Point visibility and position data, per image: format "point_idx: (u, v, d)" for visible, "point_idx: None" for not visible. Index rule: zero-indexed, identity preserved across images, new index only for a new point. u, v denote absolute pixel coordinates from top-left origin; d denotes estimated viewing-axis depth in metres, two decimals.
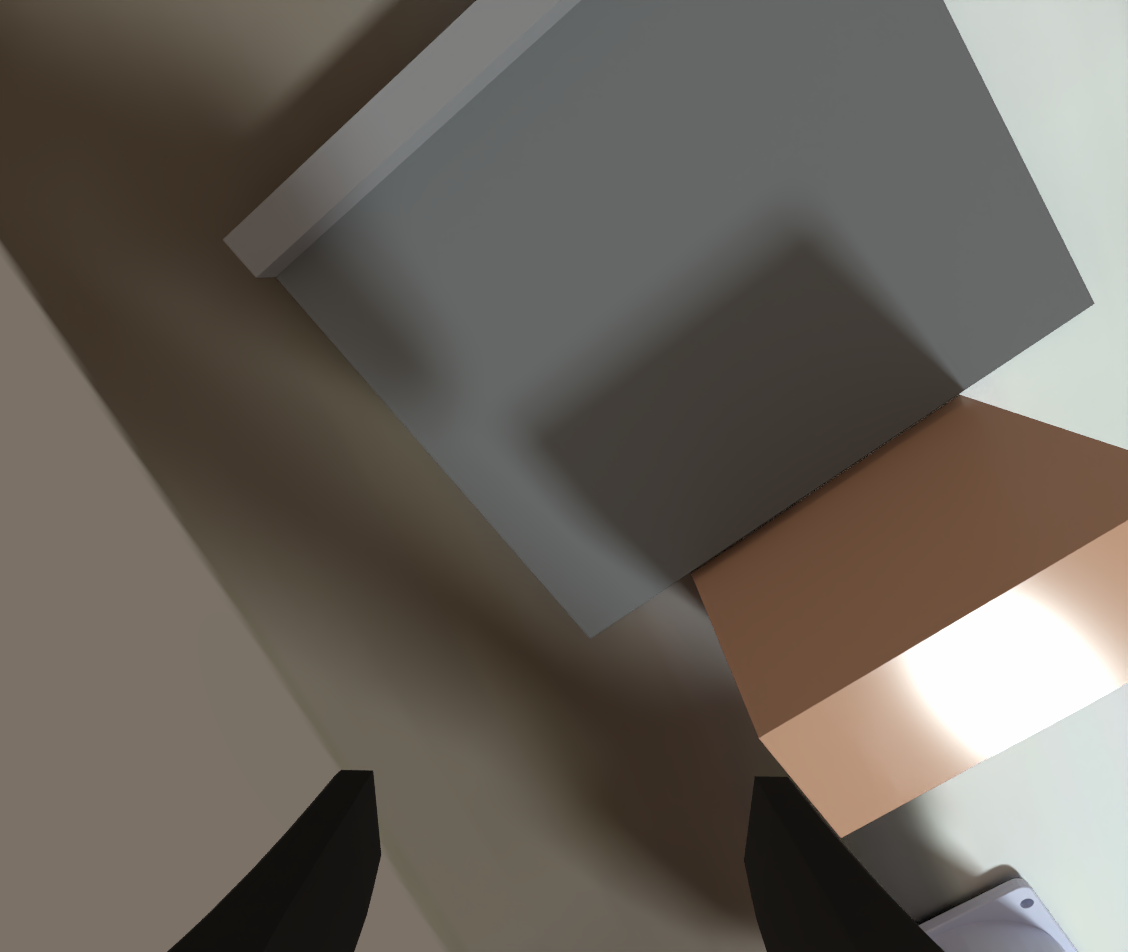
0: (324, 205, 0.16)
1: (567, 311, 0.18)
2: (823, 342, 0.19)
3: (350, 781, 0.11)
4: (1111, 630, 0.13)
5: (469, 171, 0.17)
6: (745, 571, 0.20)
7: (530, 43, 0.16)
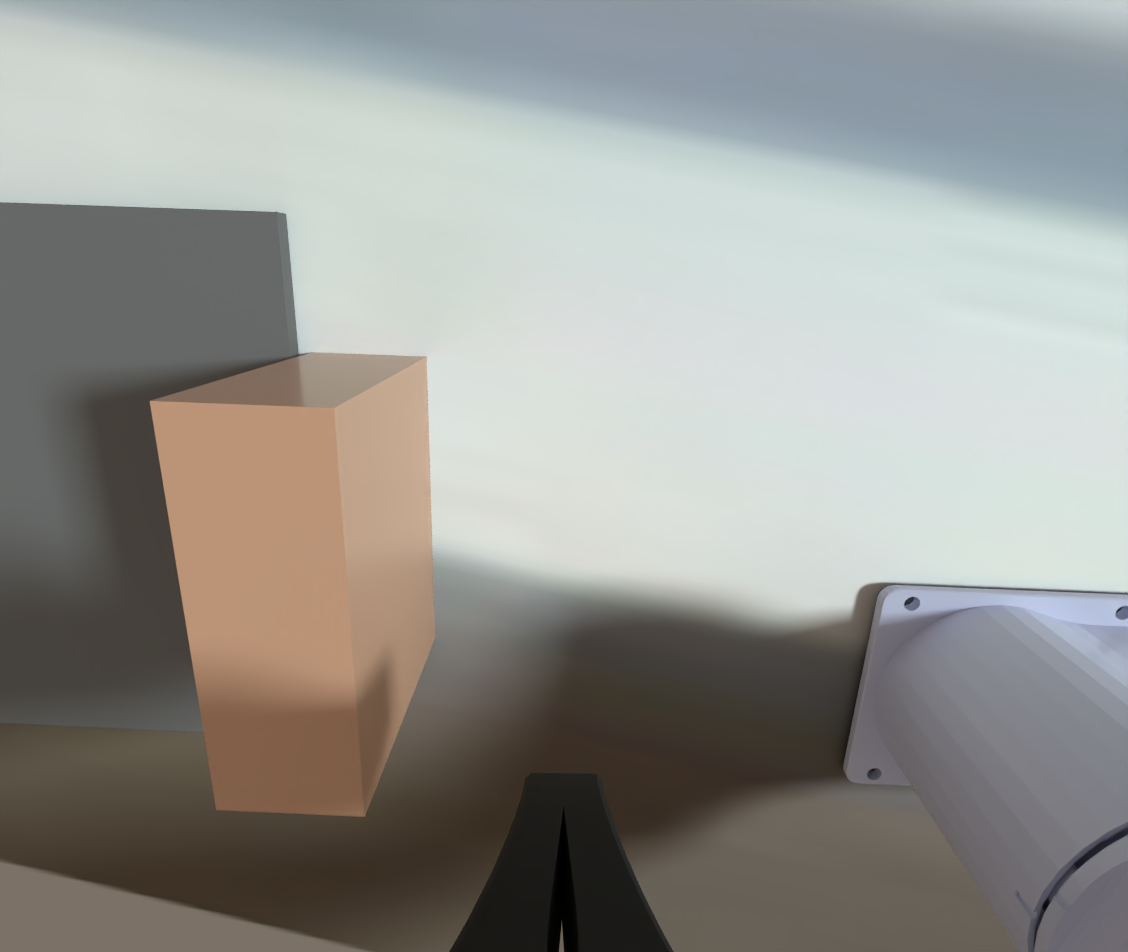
0: None
1: (50, 581, 0.22)
2: None
3: (548, 784, 0.11)
4: (274, 536, 0.13)
5: None
6: None
7: None
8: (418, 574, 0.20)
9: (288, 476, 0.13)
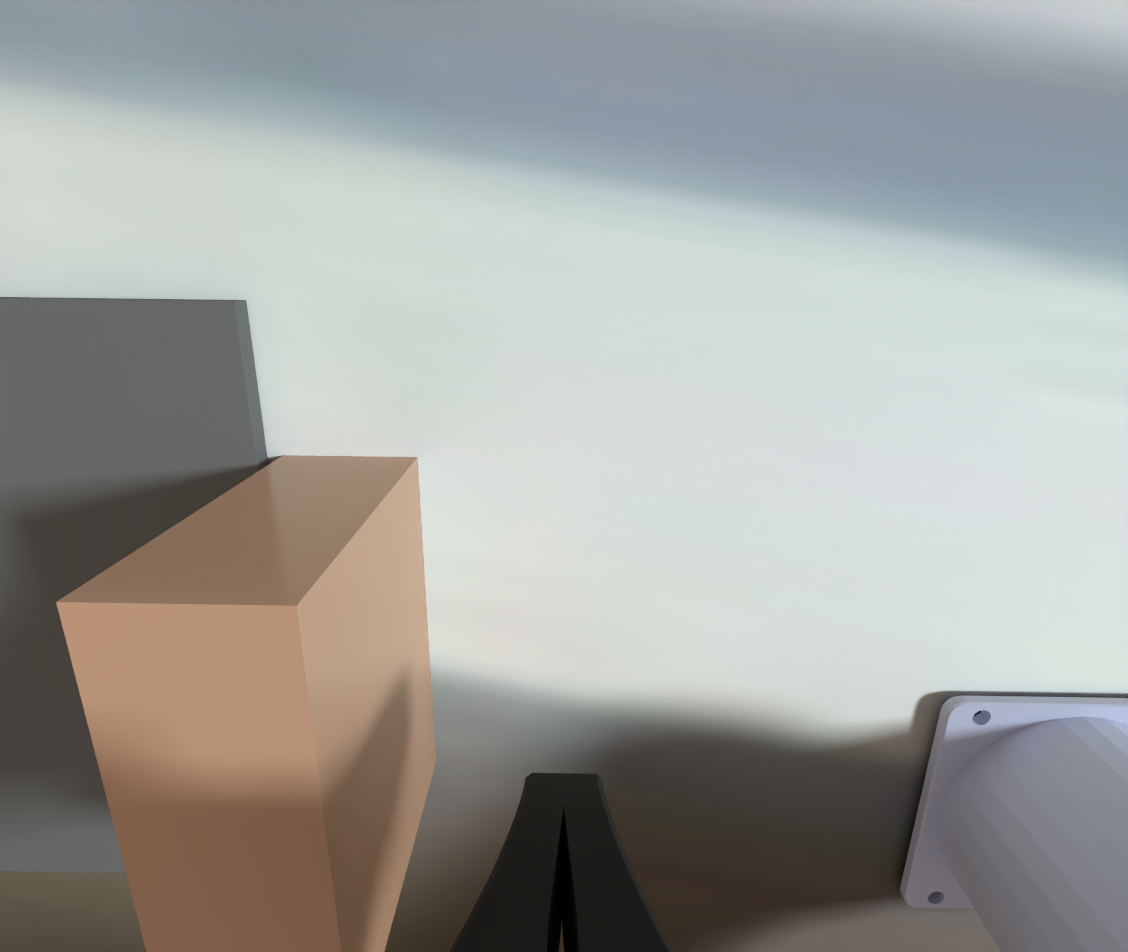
0: None
1: None
2: None
3: (548, 784, 0.11)
4: (227, 754, 0.10)
5: None
6: None
7: None
8: (414, 710, 0.17)
9: (242, 686, 0.10)
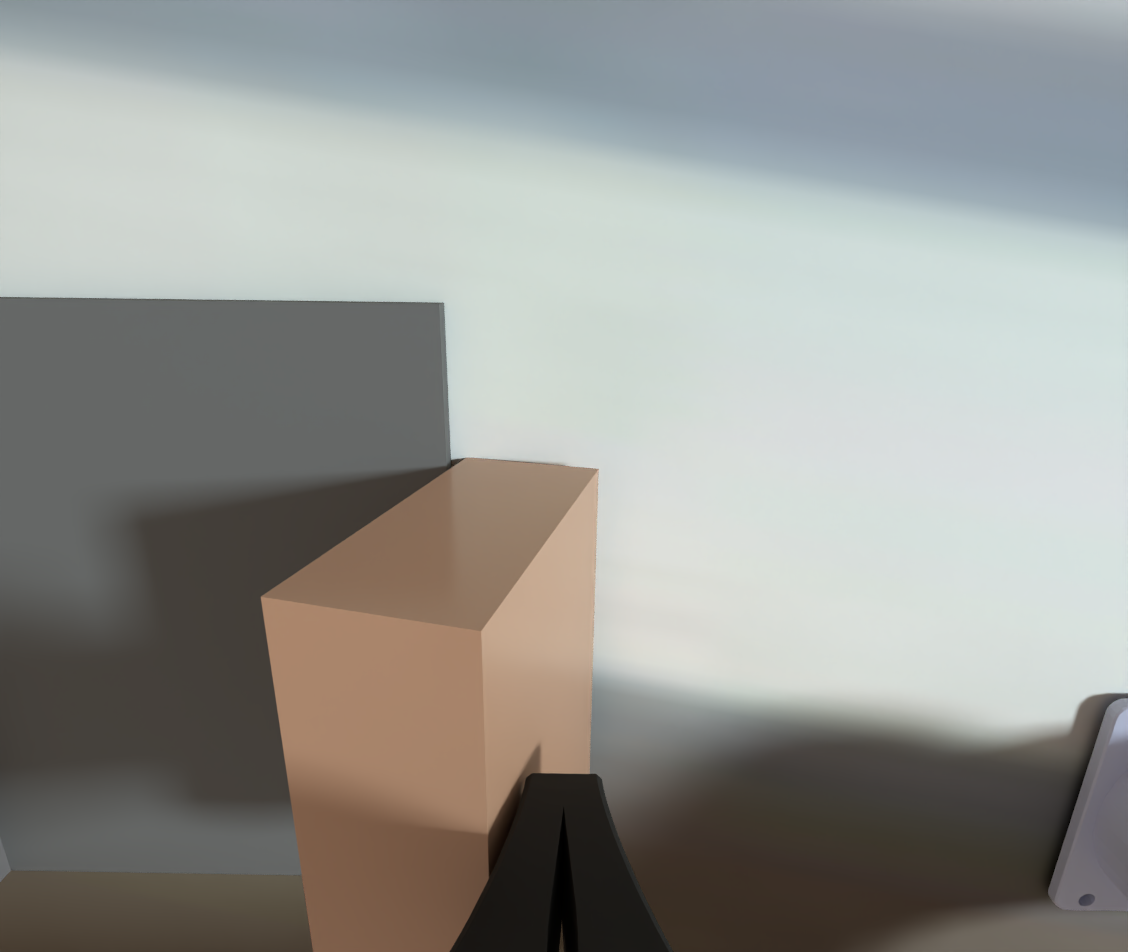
0: None
1: (155, 719, 0.19)
2: (311, 557, 0.17)
3: (547, 784, 0.11)
4: (401, 770, 0.10)
5: (1, 713, 0.19)
6: None
7: None
8: (574, 734, 0.16)
9: (420, 705, 0.10)
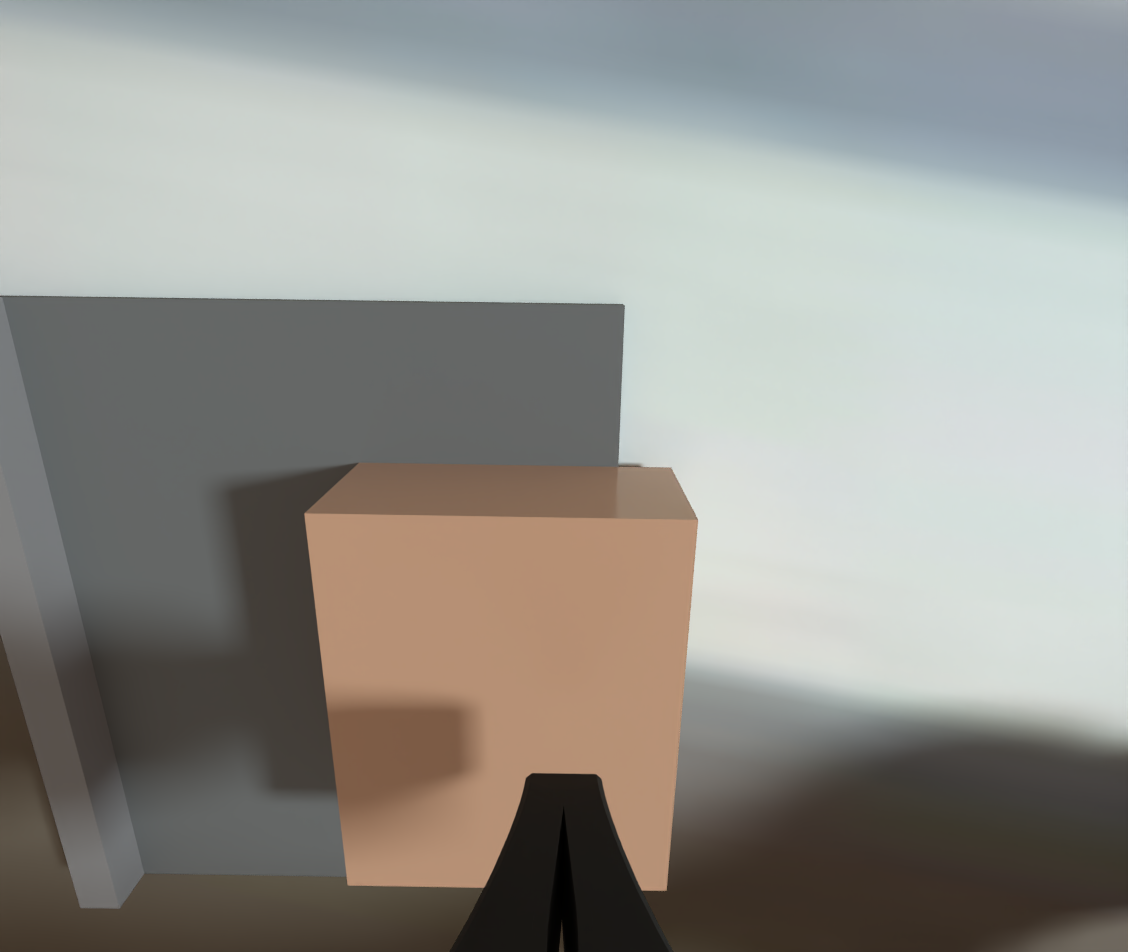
0: (95, 840, 0.19)
1: (302, 722, 0.19)
2: None
3: (548, 784, 0.11)
4: None
5: (148, 716, 0.19)
6: None
7: (77, 625, 0.18)
8: None
9: None
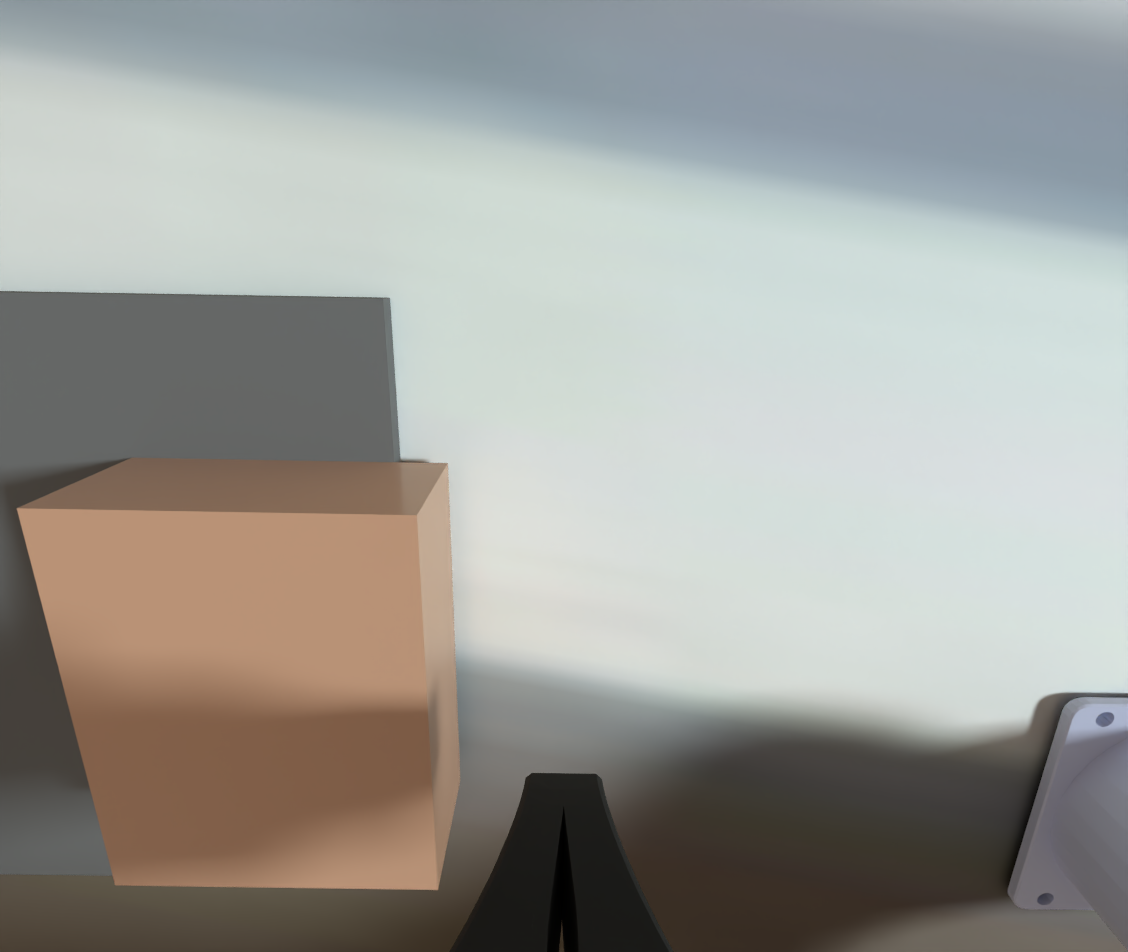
0: None
1: None
2: None
3: (548, 783, 0.11)
4: None
5: None
6: None
7: None
8: (343, 775, 0.15)
9: None
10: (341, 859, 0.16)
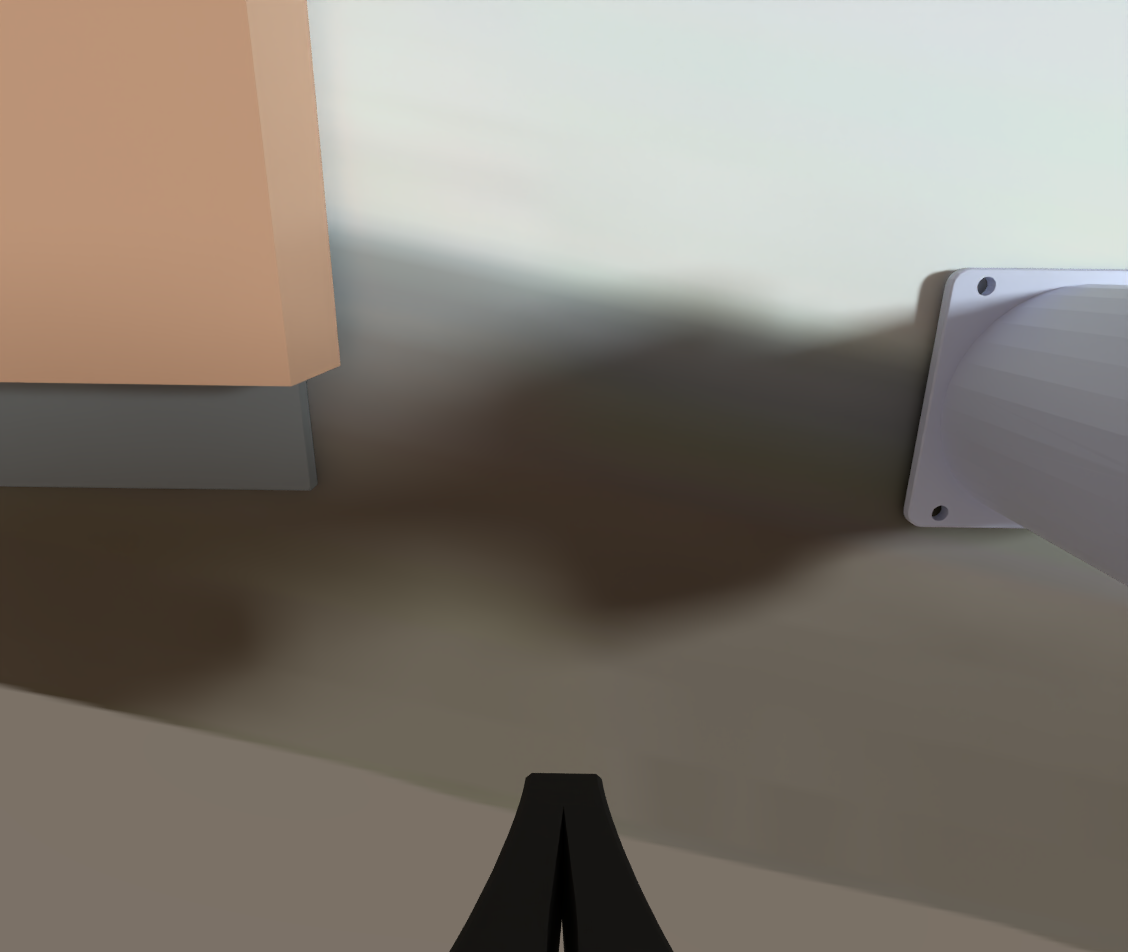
0: None
1: None
2: None
3: (548, 784, 0.11)
4: None
5: None
6: None
7: None
8: (185, 234, 0.15)
9: None
10: (191, 346, 0.16)
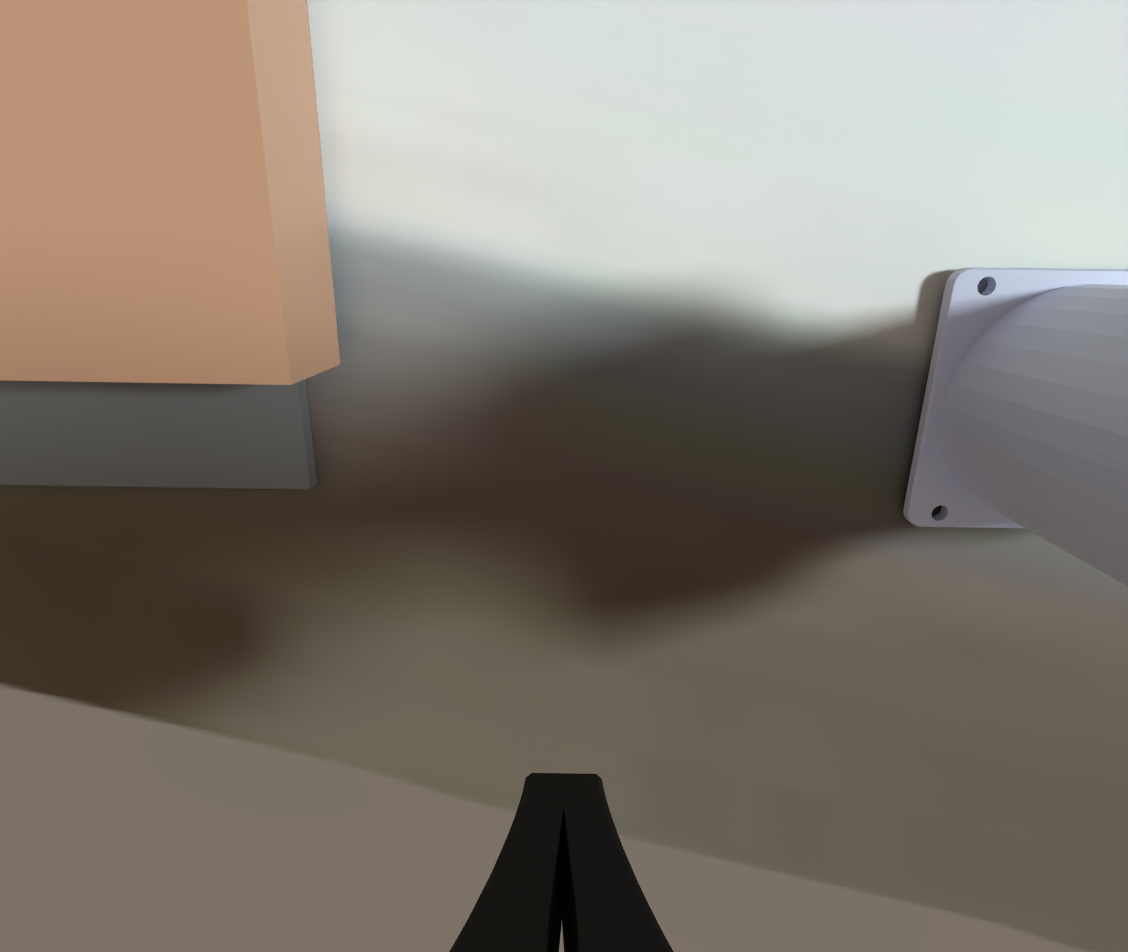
0: None
1: None
2: None
3: (547, 783, 0.11)
4: None
5: None
6: None
7: None
8: (185, 232, 0.15)
9: None
10: (191, 344, 0.16)
